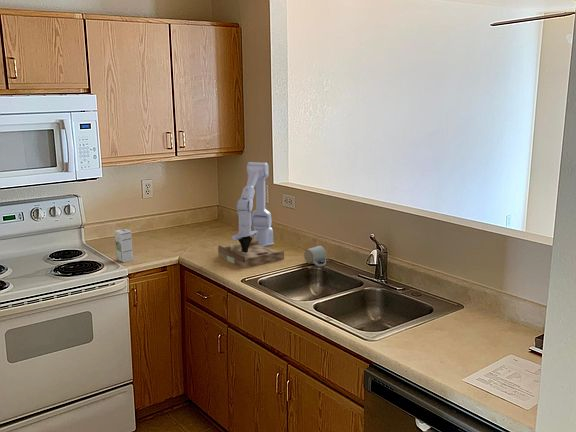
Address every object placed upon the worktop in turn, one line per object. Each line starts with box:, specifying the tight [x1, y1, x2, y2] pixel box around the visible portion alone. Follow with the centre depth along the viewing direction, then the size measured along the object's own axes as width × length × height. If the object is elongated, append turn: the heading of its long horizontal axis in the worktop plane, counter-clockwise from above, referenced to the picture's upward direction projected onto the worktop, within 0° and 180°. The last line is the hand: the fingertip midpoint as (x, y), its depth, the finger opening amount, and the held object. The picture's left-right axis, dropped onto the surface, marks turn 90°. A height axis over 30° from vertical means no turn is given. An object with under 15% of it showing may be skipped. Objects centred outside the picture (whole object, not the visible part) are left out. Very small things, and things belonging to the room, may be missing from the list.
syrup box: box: [114, 228, 134, 263], centre depth 269 cm, size 6×6×14 cm
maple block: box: [229, 243, 241, 254], centre depth 271 cm, size 4×4×4 cm
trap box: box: [217, 240, 285, 269], centre depth 274 cm, size 23×22×6 cm
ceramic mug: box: [303, 245, 327, 267], centre depth 266 cm, size 11×8×8 cm
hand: (245, 252), depth 272 cm, fingers closed
